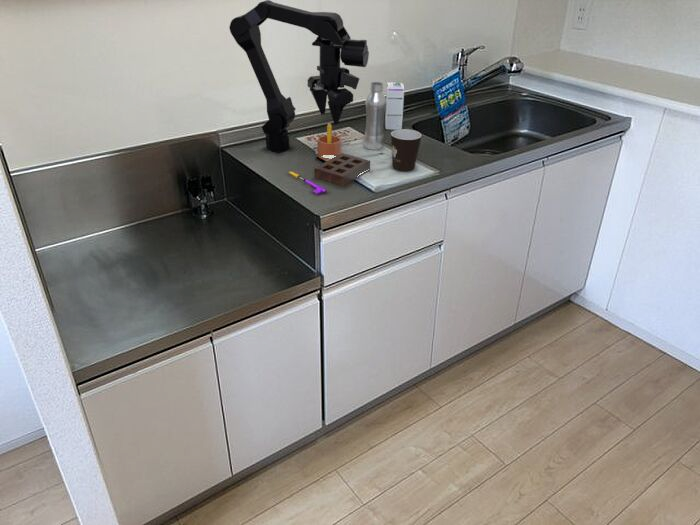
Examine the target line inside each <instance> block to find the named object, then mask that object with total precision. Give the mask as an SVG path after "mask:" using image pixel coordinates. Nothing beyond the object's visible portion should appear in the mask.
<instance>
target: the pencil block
mask: <svg viewBox="0 0 700 525" xmlns="http://www.w3.org/2000/svg"><path fill="white" fill-rule="evenodd" d="M368 169H369V170H368ZM366 170H368V171H366ZM313 171H314V179H316V180H318V181H322V182H325V183H328V184H331V185H335V186H339V187H342V188H344V187H346V186H347V185H349V184H351V183H352V182H354V181H356V180H358V179H359V178H360V177H362V176H364V175H366V174H367V173H370V172H371V160H369V159H365V158H362V157H359V156H354V155H351V154H347V153H344V152H341V154H340V155H338V156H336V157H334V158H332V159H330V160H326V161H325V162H323V163H321V164H319V165H317V166H316V167H314V170H313ZM364 171H366V172H364ZM362 172H364V173H363V174H361V175H359V174H360V173H362ZM358 175H359V176H358ZM357 176H358V177H357Z"/></svg>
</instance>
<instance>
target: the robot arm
mask: <svg viewBox="0 0 700 525" xmlns="http://www.w3.org/2000/svg"><path fill="white" fill-rule="evenodd" d="M267 19H269V20H273V21H277V22H281V23H284V24H288V25H292V26H294V27H295V26H296V27H300V28H304V29H306V30H308V31H310V32H311V33H312V35H315V36H317V37H316V38H315V40H314V41H313V42H311V45H312V46H313V47H319V65H317V66H316V70H317V71H318V72H319V75H312V76H309V77H308V79H307V88H309V91H310V93H311V96H312V97H313V99H314V101H315V104H316V106H317V108H318V111H319V113H320V115H325V114H326V109H327V105H328V108H329V109H328V110H329V112H330V116H331V119H332V122H333V124H334V125H338V124H339V122H340V119H341V116H342V114H343V110H344V108H345V107H346V106H347V105H350V104H351V103H353V102H354V93H353V92H352V91H350V90H349V89H347V88H346V87H349V88H352V89H353V90H357V88H358V84H359V81H360V78H359V77H358V76H356V75H354V74H352V73H350V69H348V68H347V67H343V66H342V67H341V63H342V64H343V65H344V66H349V67H359V68H366V67H367V65H368V62H369V56H370V51H369V46H368V40H367V39H352V38H351V36H350V34H349V33H348V30H347V29H346V27H345V26H344V20H343V18H342V17H341V15H340V14H339V13H337V12H332V11H331V12H329V11H308V10H304V9H301V8H297V7H293V6H289V5H285V4H282V3H278V2H275V1H274V2H273V1H271V0H263V1H261V2H259V3H257V5H256V6H255V7H253V8H252V9H250V10H249V11H247V12H245V14H242V15H239V16H236V17H234V18H232V19H231V21H230V23H229V27H228V28H229V32H230V34H231V36H232V37H233V40H234V41H235V43H236V44H237V45H238V46H239V47H240V48H241V49H242V50H243V51H244V52H245V54H246V56H247V58H248V61H249V63H250V65H251V68H252V71H253V72H254V75H255V77H256V79H257V82H258V84H259V87H260V89H261V91H262V94H263V96H264V98H265V101H266V114H267V117H268V120H267V121H265V123H264V124H263V125H262V126H261V129H262V132H263V134H265V145H266V146H265V147H263V148H262V150H264V151H267V152H272V153H273V154H274V153H275V154H282V153H284V152H286V151H288V150H291V149H292V148H293V147H292V146H291V145H290V136H289V131H288V129H287V128H289V126H290V124H291V123H293V121H294V120H295V117H296V107H295V106H294V105H293V101H292V98H291V96H289V97H287V98H286V97H285V96H284V95H283V93H282V92H281V90H280V88H279V84H278V83H277V80H276V78H275V75H274V73H273V70H272V68H271V66H270V63H269V61H268V59H267V56H266V54H265V52H264V48H263V46H262V34H261V29H260V26H261V25H263V23H264V22H266V21H267Z"/></svg>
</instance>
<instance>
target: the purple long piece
mask: <svg viewBox="0 0 700 525" xmlns="http://www.w3.org/2000/svg"><path fill="white" fill-rule="evenodd" d="M288 174H290V175H291V176H293V177H294V178H296V179H298V178H299V179H300V180H302V181H303V182H304V183H305V184H307V185H308V186H311V187H312V188H314V190H312V193H313V194H315V195H320V194H324V193H326V192H327V190H326V188H324V187H323V186H321V185H318V184H316V183H314V182H312V181H311V180H309V179H306V178H303V177H301V175H300V174H298V173H296V172H295V171H292V170H291V171H288Z"/></svg>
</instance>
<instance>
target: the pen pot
mask: <svg viewBox="0 0 700 525" xmlns="http://www.w3.org/2000/svg"><path fill="white" fill-rule="evenodd" d="M341 153H342V138H341V137H340V136H337V135H333V134H332V143H327V134H326V135H321V136H319V137H317V157H318V158H319V159H321V160H326V161H328V160H330V159H329V158H323V157H321V156H323V155H334V156H338V155H340V154H341Z"/></svg>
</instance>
